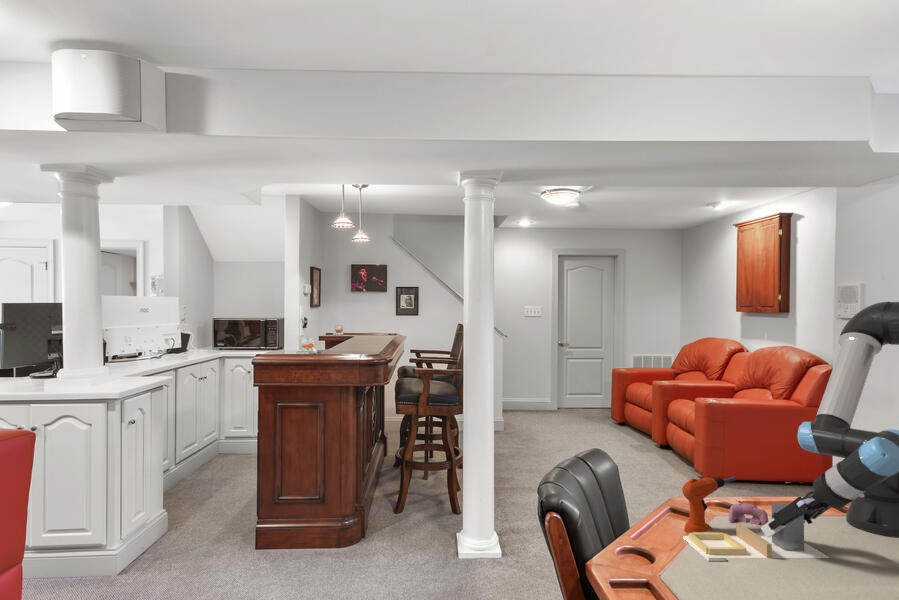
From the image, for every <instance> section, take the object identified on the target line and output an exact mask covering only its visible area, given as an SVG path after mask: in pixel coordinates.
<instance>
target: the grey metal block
mask: <svg viewBox="0 0 899 600" xmlns="http://www.w3.org/2000/svg"><path fill="white" fill-rule="evenodd" d="M790 503H791V502H788V503H787V502H785V503H784V502H783V503H782V502H781V503H780V502H771V520H772V519H773V517H772V515H774V514H773V513H777V512H778V511H780V510H781V509H783V508H784V507H786V506H787V505H789V504H790ZM772 543H774V544H775V545H777V546H778V547H780V548H782V549H783V550H785V551H804V543H805V523H804V515H802V516H800V517H798V518H796V519H795V520H793V521H791V522H789V523H788V524H786V526H785V527H784V528H782V529H781V530H780V531H778V532H777V533H775V534H774V535H772Z"/></svg>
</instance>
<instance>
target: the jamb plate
mask: <svg viewBox="0 0 899 600" xmlns="http://www.w3.org/2000/svg"><path fill="white" fill-rule="evenodd" d="M735 531H736V533H735V535H729V534H728V533H724V532H693V533H690V534H689V533H688V535H683V536H682V539H683V540H684V541H685V540H686V541H687V542H688V543H689V544H688V543H687V542H686V541H685V542H686V543H687V544H688V545H690V546H691V547H692V548H693V549H694V550H695V551H696V552H698V553H699V554H700V555H701V556H702V557H703V558H704V559H705V560H707V561H708V562H729V560H728V559H830V557H829V556H828V555H826V554H825V553H823V552H821V551H819V550H818V549H816V548H814V547H813V546H811V545H809V544H807V543H806V542H804V551H785V550H783V549H782V548H780V547H778V546H777V545H775V544H774V543H772V536H771V537H769V538H767V537H766V535H758V534H757V533H756V532H754V531H753V530H751V529H749V528H747V527H746V526H745V525H743V524H742V523H736V525H735Z"/></svg>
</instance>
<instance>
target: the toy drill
mask: <svg viewBox="0 0 899 600" xmlns="http://www.w3.org/2000/svg"><path fill="white" fill-rule="evenodd" d="M736 480H737V477H736V476H732V477H729V478H728V477H727V478H721V477H717V478H713V477H712V478H710V477H703V478H690V479H688V481H687V482H686V483H684V484H683V486H682V488H681V489H682V490H681V491H682V495H683V496H684V497H685V498H686V500H688V503H689V517H688V522H686V523H685V524H684V532H686V533H688V534H689V533H707V532H710V531H713V527H712V526H711V525H710V524H708V523H706V519H705V512H706V510H707V509H708V506H707V505H706V502H705V500H704V499H705V498H707V497H708V496H710V495H712V494H713V493H714V492H716V491H717V490H718V489H720V488H722V487H724V486H725V484H727V483H731V482H733V481H736Z"/></svg>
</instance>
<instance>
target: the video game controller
mask: <svg viewBox="0 0 899 600" xmlns="http://www.w3.org/2000/svg"><path fill="white" fill-rule="evenodd" d="M745 515H747V516H752V517H751V518H750V520H749V522H750V524H752V525H758V526H759V525H760V524H761V525H762V526H763V525H765V524H766V523H768V522H769V516H768V512H767V511H765V510H764V508H762V507H761V506H757V505H754V504H752V503H746V502H741V503H734V504H732V505H731V506H730V507H729V510H728V523H729V524H733V523H735V522H736V521H735V520H737V521H738V522H741V523H747V518H746V516H745ZM762 526H761V527H762Z"/></svg>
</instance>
